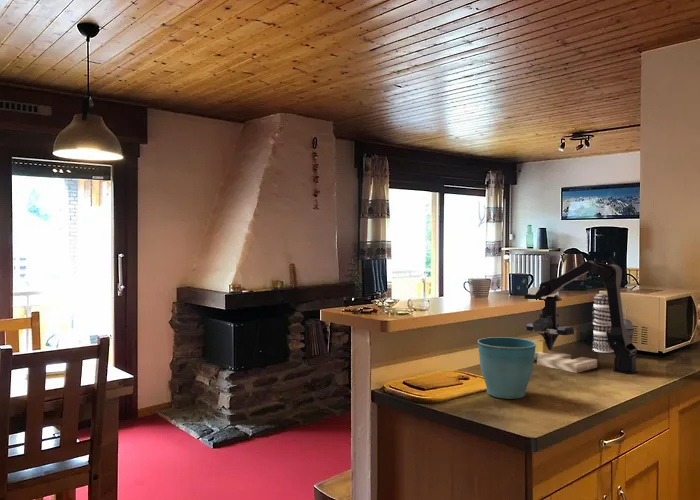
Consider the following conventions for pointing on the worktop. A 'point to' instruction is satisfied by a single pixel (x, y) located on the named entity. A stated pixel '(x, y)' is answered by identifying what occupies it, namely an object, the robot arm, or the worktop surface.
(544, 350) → the ochre block
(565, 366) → the board
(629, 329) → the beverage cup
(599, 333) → the decorative candle
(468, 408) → the worktop surface
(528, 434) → the worktop surface
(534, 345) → the flower pot
